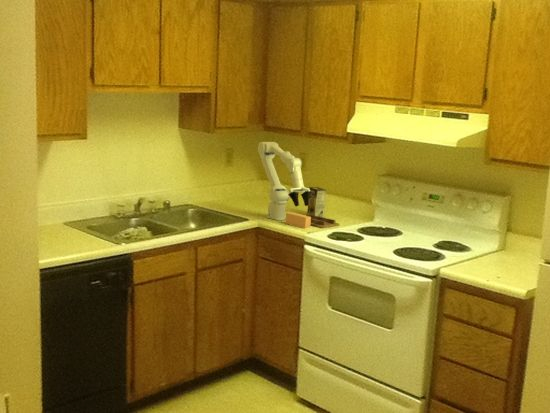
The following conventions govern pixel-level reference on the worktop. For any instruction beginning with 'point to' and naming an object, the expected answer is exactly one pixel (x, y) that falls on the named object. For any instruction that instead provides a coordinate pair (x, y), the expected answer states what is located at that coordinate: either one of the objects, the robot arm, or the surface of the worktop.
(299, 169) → the robot arm
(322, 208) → the coffee box
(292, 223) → the orange rectangular block
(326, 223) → the drying rack
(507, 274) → the worktop surface
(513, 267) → the worktop surface
